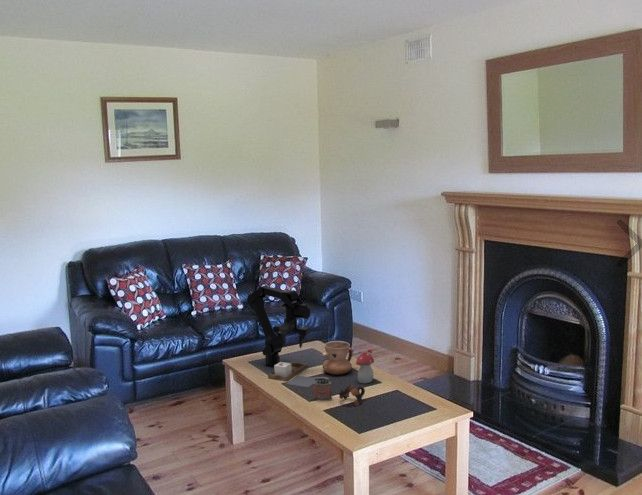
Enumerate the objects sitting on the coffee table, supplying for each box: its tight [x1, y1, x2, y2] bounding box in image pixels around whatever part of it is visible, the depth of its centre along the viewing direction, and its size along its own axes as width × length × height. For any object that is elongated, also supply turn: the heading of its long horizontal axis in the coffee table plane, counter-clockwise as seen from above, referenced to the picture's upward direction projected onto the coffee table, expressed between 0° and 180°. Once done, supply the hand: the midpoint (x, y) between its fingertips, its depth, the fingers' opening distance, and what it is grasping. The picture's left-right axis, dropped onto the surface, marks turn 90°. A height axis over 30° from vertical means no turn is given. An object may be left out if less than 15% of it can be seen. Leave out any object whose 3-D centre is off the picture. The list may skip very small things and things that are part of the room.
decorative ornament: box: [355, 349, 375, 385], centre depth 283 cm, size 9×6×15 cm
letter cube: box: [273, 361, 292, 377], centre depth 293 cm, size 6×6×6 cm
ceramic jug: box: [322, 340, 354, 376], centre depth 298 cm, size 18×14×14 cm
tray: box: [267, 361, 308, 382], centre depth 297 cm, size 11×20×2 cm, turn 153°
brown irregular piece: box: [338, 384, 366, 407], centre depth 261 cm, size 12×10×8 cm
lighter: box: [312, 376, 333, 402], centre depth 264 cm, size 8×3×10 cm, turn 84°
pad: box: [285, 374, 317, 388], centre depth 286 cm, size 12×12×1 cm
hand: (292, 346), depth 300 cm, fingers open, 9 cm apart
